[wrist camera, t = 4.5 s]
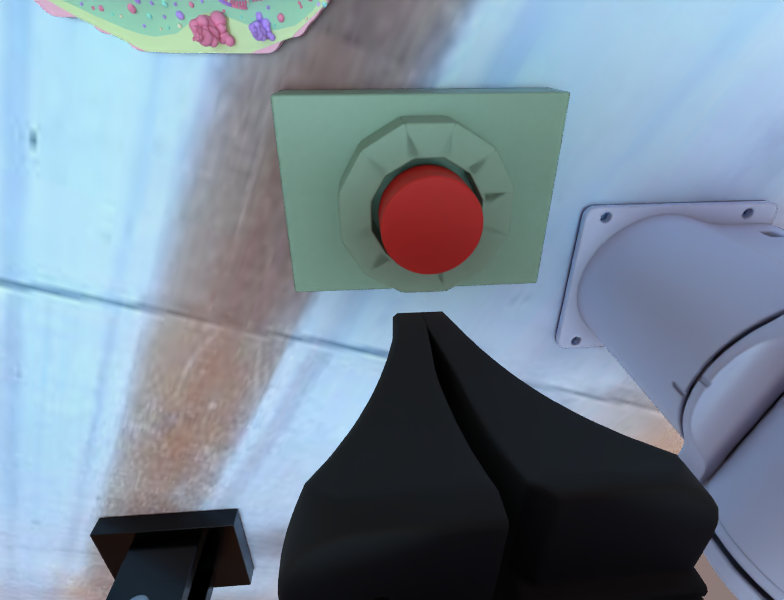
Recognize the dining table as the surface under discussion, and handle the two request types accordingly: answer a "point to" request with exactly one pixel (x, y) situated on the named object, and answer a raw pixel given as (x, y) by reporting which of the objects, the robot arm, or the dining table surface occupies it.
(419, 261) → the warm button
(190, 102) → the dining table surface
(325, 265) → the control block
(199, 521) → the switch bracket
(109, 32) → the candy landscape model
